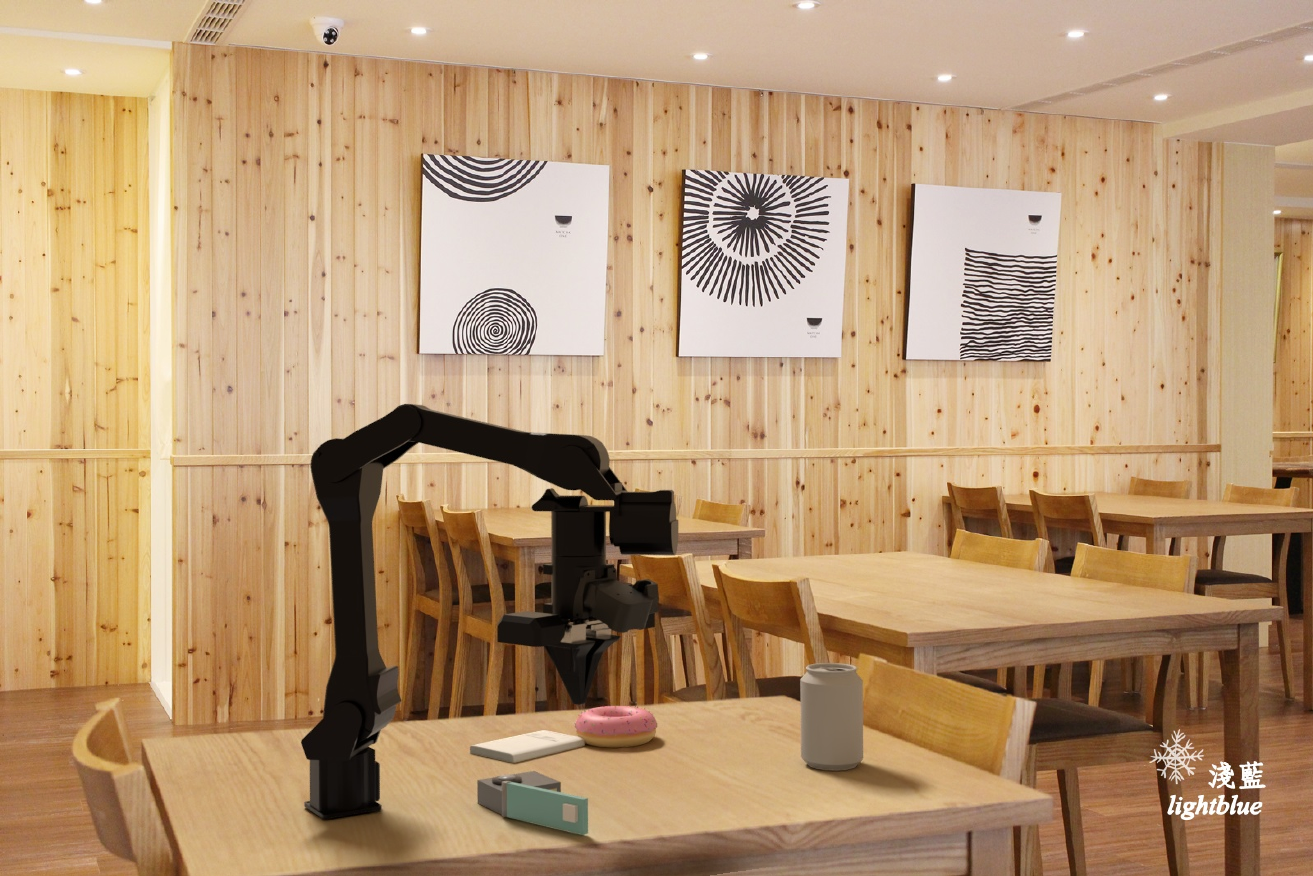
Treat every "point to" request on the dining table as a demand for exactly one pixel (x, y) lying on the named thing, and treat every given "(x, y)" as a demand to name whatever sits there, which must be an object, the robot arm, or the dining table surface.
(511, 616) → the robot arm
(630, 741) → the doughnut
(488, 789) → the camera body
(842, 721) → the can
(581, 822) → the side door
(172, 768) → the dining table surface
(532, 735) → the external hard drive
